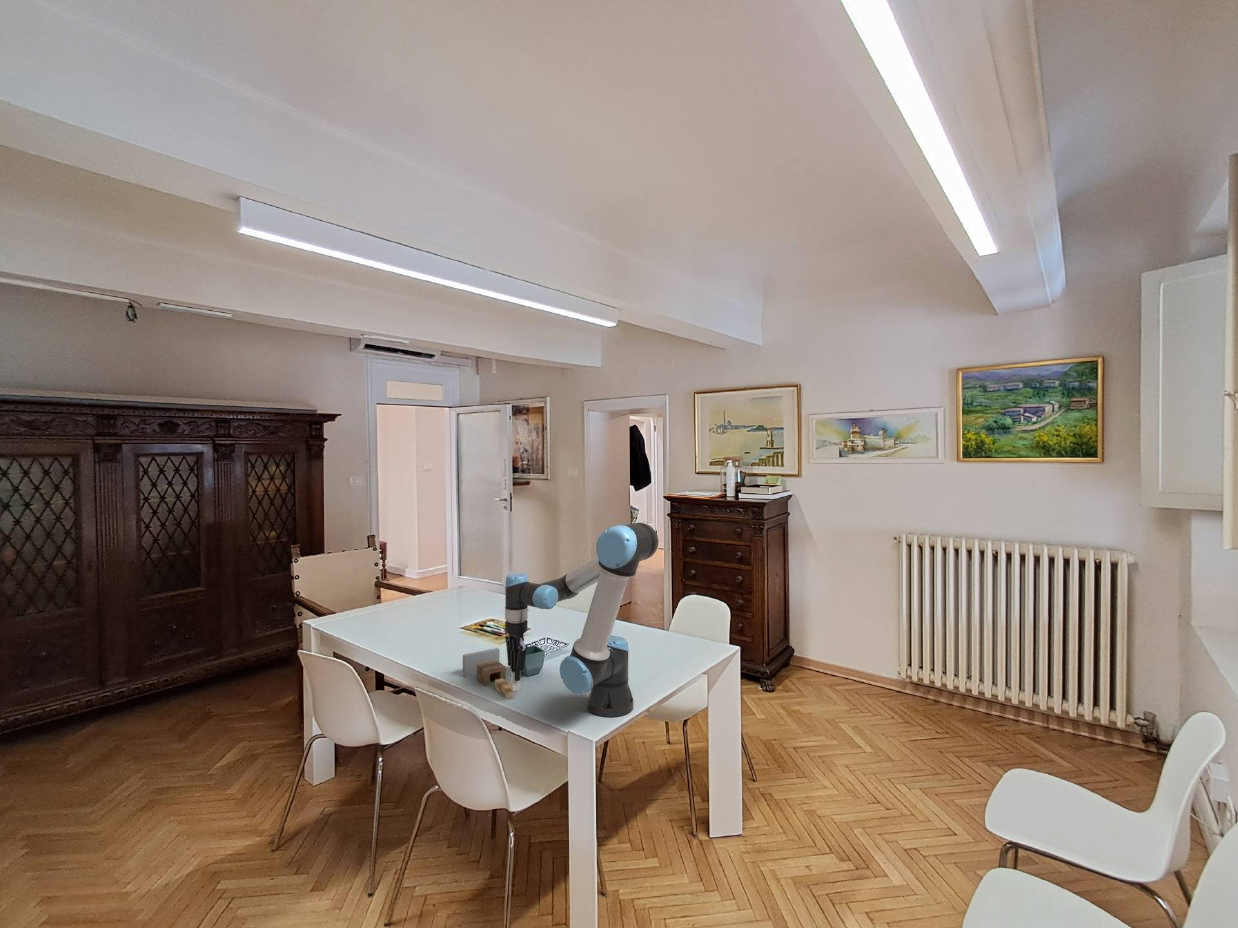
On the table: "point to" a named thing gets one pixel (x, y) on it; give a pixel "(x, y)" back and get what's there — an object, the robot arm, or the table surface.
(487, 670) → the block
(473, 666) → the wall
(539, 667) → the flower pot
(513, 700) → the table surface
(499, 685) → the dowel
